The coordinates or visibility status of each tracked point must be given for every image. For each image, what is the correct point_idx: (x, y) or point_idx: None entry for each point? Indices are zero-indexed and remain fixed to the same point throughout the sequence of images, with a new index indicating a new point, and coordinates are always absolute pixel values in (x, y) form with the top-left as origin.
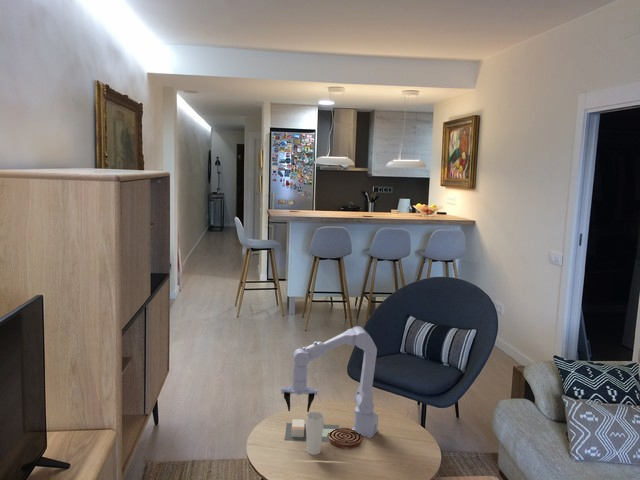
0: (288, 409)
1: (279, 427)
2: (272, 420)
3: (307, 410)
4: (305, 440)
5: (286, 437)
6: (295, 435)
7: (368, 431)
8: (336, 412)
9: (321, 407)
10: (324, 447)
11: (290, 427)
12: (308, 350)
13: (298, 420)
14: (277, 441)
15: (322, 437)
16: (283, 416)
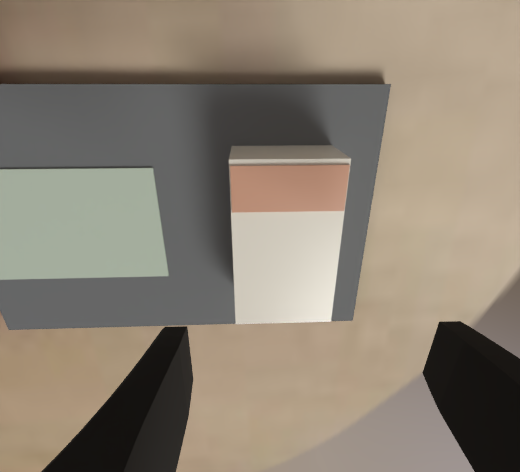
0: (481, 336)
1: (399, 277)
2: (430, 343)
3: (176, 341)
4: (212, 94)
5: (370, 132)
6: (300, 148)
7: None
8: None
9: None
10: (29, 3)
11: None
12: None
13: (284, 309)
14: (441, 83)
15: (78, 158)
16: (362, 383)
